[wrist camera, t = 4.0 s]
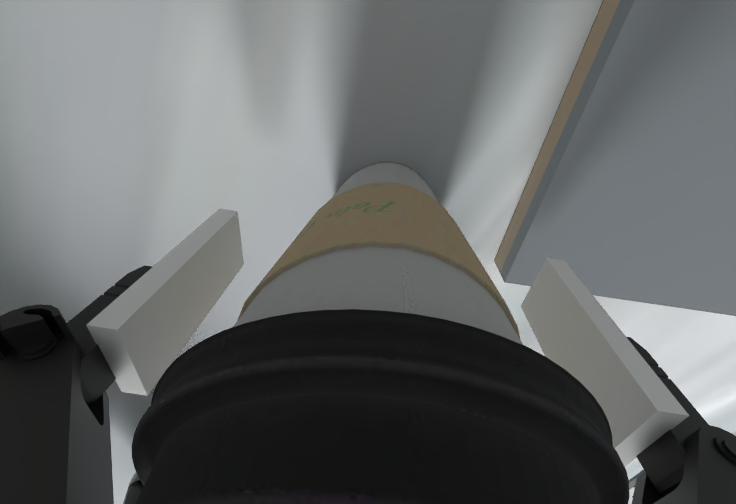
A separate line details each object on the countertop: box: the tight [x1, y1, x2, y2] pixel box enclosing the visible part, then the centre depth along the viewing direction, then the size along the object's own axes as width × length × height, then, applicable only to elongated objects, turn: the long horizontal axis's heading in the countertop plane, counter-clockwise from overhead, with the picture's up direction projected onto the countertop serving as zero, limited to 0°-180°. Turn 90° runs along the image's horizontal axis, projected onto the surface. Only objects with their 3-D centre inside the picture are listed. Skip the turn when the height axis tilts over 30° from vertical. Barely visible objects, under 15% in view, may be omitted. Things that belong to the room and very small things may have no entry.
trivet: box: [495, 0, 736, 316], centre depth 14 cm, size 16×14×2 cm
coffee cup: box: [132, 163, 629, 504], centre depth 11 cm, size 9×9×15 cm
